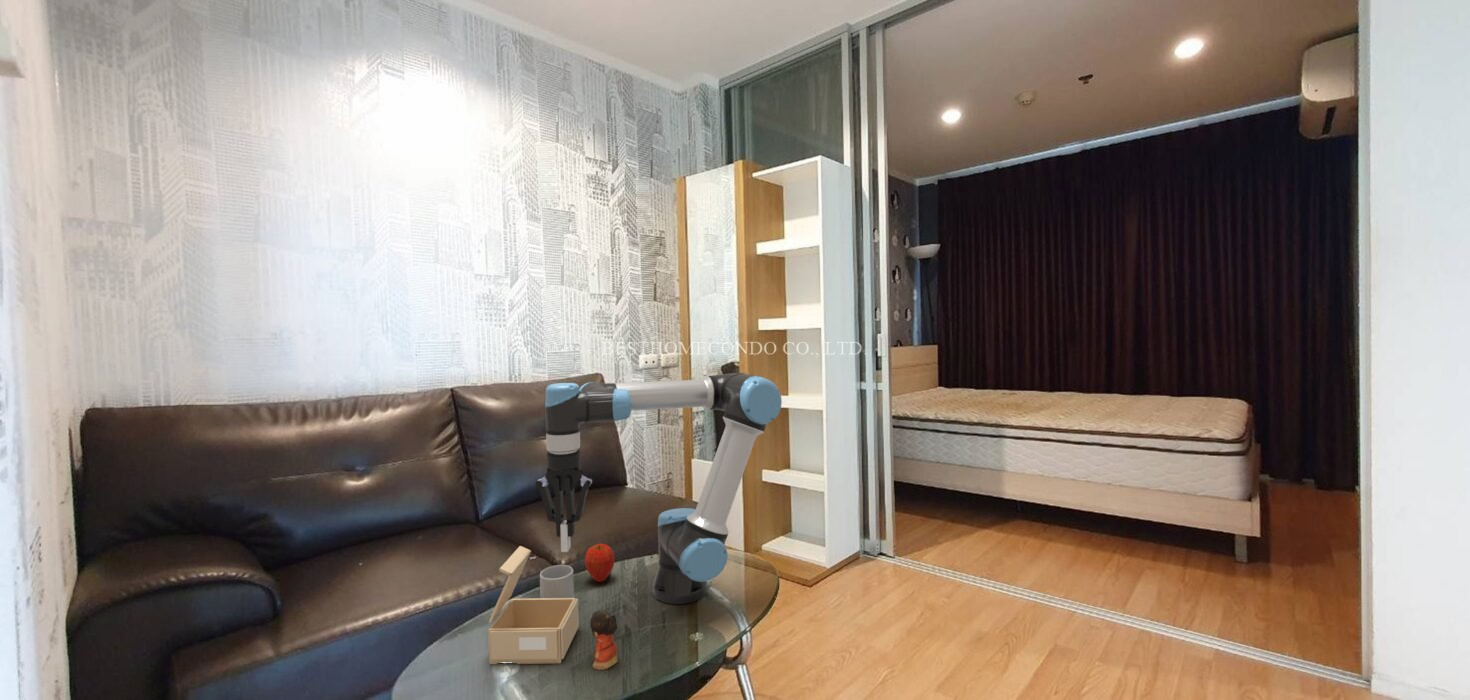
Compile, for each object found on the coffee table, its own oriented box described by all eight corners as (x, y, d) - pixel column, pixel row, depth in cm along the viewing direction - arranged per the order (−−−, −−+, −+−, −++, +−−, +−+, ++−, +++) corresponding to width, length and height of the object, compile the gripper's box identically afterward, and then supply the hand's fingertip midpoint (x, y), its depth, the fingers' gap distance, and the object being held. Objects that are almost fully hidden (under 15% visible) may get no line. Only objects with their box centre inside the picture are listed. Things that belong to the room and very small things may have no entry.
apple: (587, 574, 175) (586, 539, 174) (616, 573, 176) (615, 538, 175) (583, 588, 166) (582, 551, 166) (613, 586, 167) (612, 550, 167)
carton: (579, 628, 146) (578, 597, 145) (562, 664, 131) (561, 630, 130) (513, 628, 146) (512, 597, 145) (488, 665, 130) (487, 631, 130)
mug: (577, 616, 151) (576, 575, 151) (542, 623, 148) (541, 581, 147) (569, 595, 162) (568, 557, 162) (537, 602, 159) (536, 563, 158)
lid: (531, 550, 143) (520, 545, 143) (512, 573, 130) (499, 568, 130) (511, 595, 144) (500, 590, 144) (490, 623, 131) (478, 617, 131)
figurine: (621, 655, 134) (620, 604, 133) (617, 670, 129) (616, 617, 128) (593, 655, 134) (592, 605, 133) (588, 670, 128) (587, 618, 128)
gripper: (595, 446, 139) (597, 543, 140) (540, 446, 139) (543, 543, 140) (587, 454, 131) (589, 556, 133) (529, 454, 131) (532, 556, 133)
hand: (565, 549), depth 136 cm, fingers closed
